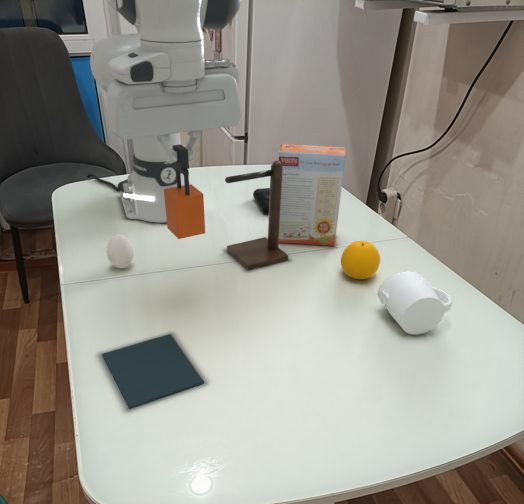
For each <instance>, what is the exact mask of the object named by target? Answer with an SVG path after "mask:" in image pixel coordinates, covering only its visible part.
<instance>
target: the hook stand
mask: <svg viewBox="0 0 524 504" xmlns="http://www.w3.org/2000/svg"><path fill="white" fill-rule="evenodd" d="M282 171H283V166H282V164H281V162H279V160H274V161H273V162H272V164H271V165H270V169H267V170H262V171H261V170H260V171H255V172H248V173H242V174H237V175H230V176H226V177H225V179H224V181H225V183H226V184H231V183H238V182H245V181H251V180H255V179H256V180H257V179H262V178H268V177H270V178H269V188H270V198H269V214H268V222H267V223H268V225H267V237H266V236H263V237H260V238H255V239H250V240H246V241H243V242H237V243H233V244H229V245H226V251H227V252H228V253H229V254H230V255H231V256H232V257H233V258H234V259H235V260H236V261H237V262H238V263H240V265H241V266H242V267H244V268H245V269H246V270H247V271H251V270H256V269H259V268H264V267H267V266H271V265H276V264H279V263H283V262H287V261H289V254H287V253H286V252H284V251H283V250H282V249H281V248H279V242H278V241H279V223H280V206H281V188H282Z"/></svg>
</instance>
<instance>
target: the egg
mask: <svg viewBox="0 0 524 504" xmlns="http://www.w3.org/2000/svg"><path fill="white" fill-rule="evenodd" d="M106 255H107V259H108V261H109V262H110V264H111V265H112V266H114V267H115V268H118V269H125V268H128V267H130V265H131V264H132V262H133V260H134V255H135V254H134V249H133V245H132V243H131V241H130V240H129V239H128V238H127V237H126V236H125V235H123V234H120V233H115V234H114V235H112V236H111V237H110V238H109V240H108V242H107V246H106Z"/></svg>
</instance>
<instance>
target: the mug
mask: <svg viewBox="0 0 524 504" xmlns="http://www.w3.org/2000/svg"><path fill="white" fill-rule="evenodd" d="M377 296H378V299H379V301H380V303H381V304H382V305H384V307H386V308H387V312H388V313H389V315H390V316H391V317H392V318H393V320H394V321H396V323H397V324H398V325H399V327H400V328H401V329H402V330H403V331H404V332H405V333H407V334H409V335H415V336H416V335H418V336H419V335H423V334H426V333H428V332H430V331H432V330H433V329H434V328H436V327H437V326H438V325H439V324H440V322H441V321H442V320H443V318H444V314H445V313H448V312H449V311H450V310H451V308H452V305H453V300H452V297H451V296H450V295H449V294H448V293H447V292H445V291H444V290H442V289H440V288H438V287H435V286H432V285H431V284H430V282H429V280H428V278H427V277H425V276H423V275H422V274H420V273H418V272H415V271H401V272H397V273H393V274H392V275H390V276H388V277H387V278H386V279H384V280H383V281H382V282H381V284H380V285H379V287H378V290H377Z"/></svg>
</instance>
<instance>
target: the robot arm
mask: <svg viewBox="0 0 524 504" xmlns="http://www.w3.org/2000/svg"><path fill="white" fill-rule="evenodd" d="M107 2H108V4H109V5H110V6H111V8H112V9H113V10H115V11H116V12H117V13H119V14H120V15H121V16H122V17H123V18H124V19H125V21H127V22H128V23H129V24H130V25H132V26H133V27H135V29H136V31H137V32H136V33H121V34H115V35H111V36H108V37H105V38H102V39H100V40H98V41H96V42H95V43H94V44H93V46H92V48H91V51H90V57H89V63H90V70H91V74H92V76H93V78H94V80H95V82H96V84H97V85H98V86H99V88H101V89H102V91H104V92H105V93H107V116H108V123H109V124H108V125H109V129H110V130H111V132H112V133H113V134H114V135H115V136H116V137H117V138H119V139H120V140H122V141H123V140H125V141H126V140H131V141H132V146H133V147H132V148H133V155H132V171H131V172H130V173H129V175H128V176H127V179H124V180H122V181H119V182H118V184H117V186H116V185H115V184H114V183H113V182H111V181H107V180H106V179H105V180H104V179H103V178H102V179H101V178H99V177H98V176H96V175H95V174H93V173H88V174H87V176H86V178H88V179H89V178H91V177H92V178H93V179H94V180H96V181H98V182H99V183H102V184H105V185H108V186H111V188H113V189H114V190H116V192H122V193H120V199H121V202H122V203H121V204H122V205H123V209H124V213H125V215H126V218H127V219H128V220H129V219H130V220H140V221H145V222H149V223H167V218H166V208H165V198H164V189H166V188H172V187H177V180H176V169H175V165H174V163H177V162H179V158H178V156H179V155H178V151H177V150H175V149H173V145H180V144H181V145H182V139H181V134H182V133H187V135H188V136H189V139H188V141H187V144H186V146H184V147H185V148H186V149H188V158H189V162H191V161H195V160H196V149H197V147H198V145H199V142H200V140H201V138H202V131H204V130H213V129H221V128H228V127H236V126H237V125H238V124H239V122H240V121H241V117H242V113H241V112H242V111H241V101H240V93H239V85H240V72H239V71H240V70H239V68H238V65H236V64H235V63H234V62H233V61H231V60H230V59H228V58H222V59H205V41H204V38H205V36H204V32H203V30H213V31H214V30H215V31H222V30H223V29H225V27H227V26H228V25H229V24H230V22H232V20H233V19H234V18H235V17H236V15H237V13H238V12H239V10H240V9H241V8H240V7H241V3H242V0H107ZM180 174H181V186H184V175H183V174H182V173H180ZM188 177H189V185H190V184H191V185H192V182H191V176H190V174H189V175H188Z"/></svg>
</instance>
